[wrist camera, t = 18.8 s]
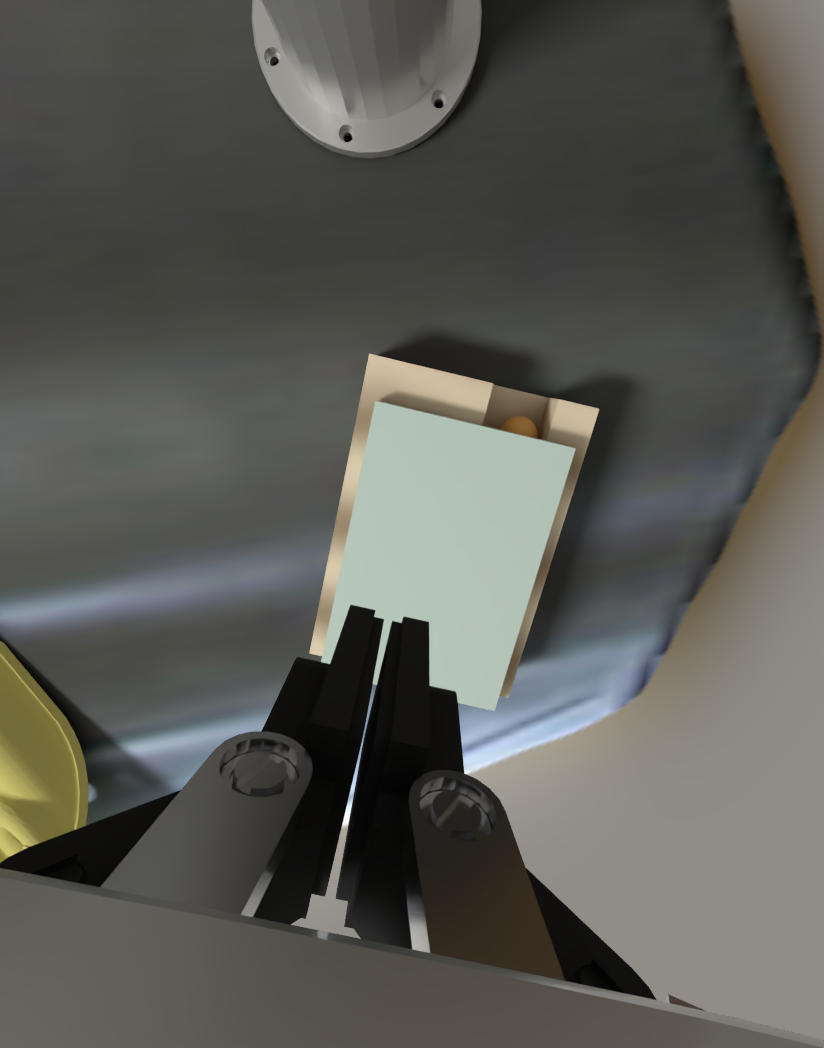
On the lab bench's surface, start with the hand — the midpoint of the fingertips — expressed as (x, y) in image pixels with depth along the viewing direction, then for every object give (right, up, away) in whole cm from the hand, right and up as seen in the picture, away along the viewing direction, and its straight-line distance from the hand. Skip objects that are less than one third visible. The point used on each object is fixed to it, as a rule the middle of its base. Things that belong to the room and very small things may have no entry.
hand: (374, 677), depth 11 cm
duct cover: (+3, +1, +23) cm, 23 cm away
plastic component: (-32, -15, +33) cm, 48 cm away
